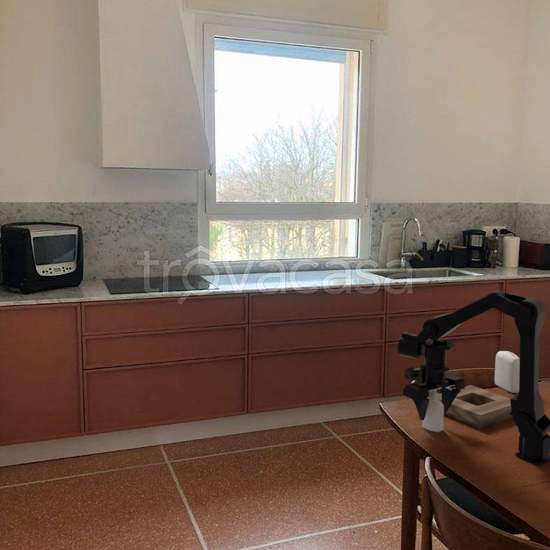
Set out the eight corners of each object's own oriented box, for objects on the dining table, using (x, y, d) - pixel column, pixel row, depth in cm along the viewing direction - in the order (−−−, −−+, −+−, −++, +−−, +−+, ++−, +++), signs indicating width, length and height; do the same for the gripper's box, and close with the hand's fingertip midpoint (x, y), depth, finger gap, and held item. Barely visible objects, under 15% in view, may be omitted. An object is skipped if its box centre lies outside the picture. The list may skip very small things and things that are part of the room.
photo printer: (492, 383, 203) (494, 348, 202) (503, 382, 204) (505, 347, 202) (510, 394, 194) (512, 357, 192) (522, 393, 194) (524, 356, 193)
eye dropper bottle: (434, 424, 170) (435, 383, 168) (445, 432, 164) (446, 390, 162) (420, 426, 168) (421, 385, 166) (430, 433, 163) (432, 391, 161)
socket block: (519, 415, 176) (520, 402, 175) (479, 428, 166) (480, 415, 166) (470, 397, 191) (470, 385, 190) (430, 408, 181) (431, 395, 181)
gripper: (436, 350, 175) (434, 401, 177) (389, 360, 165) (387, 414, 167) (467, 359, 166) (464, 413, 168) (419, 371, 156) (417, 427, 158)
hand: (433, 416), depth 166 cm, fingers closed on eye dropper bottle, 8 cm apart
